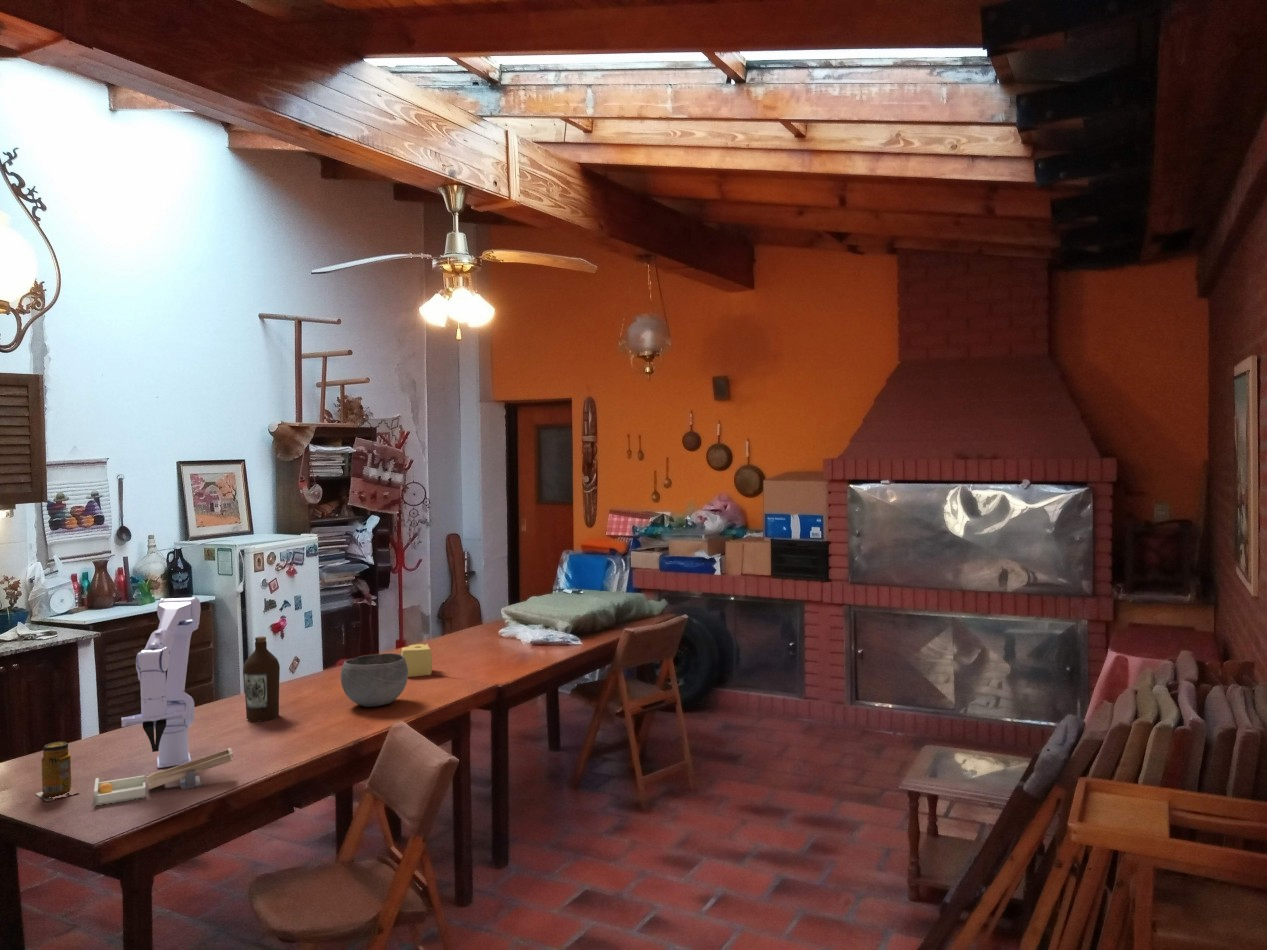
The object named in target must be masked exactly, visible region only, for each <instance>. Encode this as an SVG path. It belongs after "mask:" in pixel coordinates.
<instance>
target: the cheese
mask: <svg viewBox="0 0 1267 950" xmlns="http://www.w3.org/2000/svg"><path fill="white" fill-rule="evenodd" d="M400 655H403V656H404V658H405V660H406V663H407V667H408V678H413V677H422V676H431V675H432V670H433V654H432V651H431V647H430V646H429V644H428V643H418V644H411V645H408V646H407V647H406V646H404V647H401V651H400Z"/></svg>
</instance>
